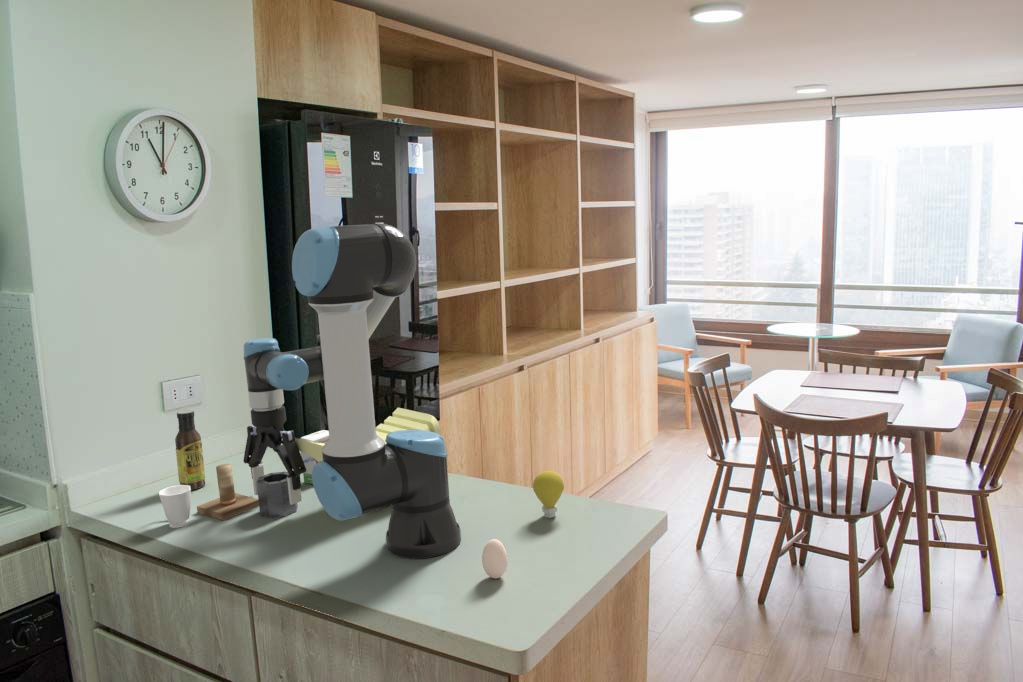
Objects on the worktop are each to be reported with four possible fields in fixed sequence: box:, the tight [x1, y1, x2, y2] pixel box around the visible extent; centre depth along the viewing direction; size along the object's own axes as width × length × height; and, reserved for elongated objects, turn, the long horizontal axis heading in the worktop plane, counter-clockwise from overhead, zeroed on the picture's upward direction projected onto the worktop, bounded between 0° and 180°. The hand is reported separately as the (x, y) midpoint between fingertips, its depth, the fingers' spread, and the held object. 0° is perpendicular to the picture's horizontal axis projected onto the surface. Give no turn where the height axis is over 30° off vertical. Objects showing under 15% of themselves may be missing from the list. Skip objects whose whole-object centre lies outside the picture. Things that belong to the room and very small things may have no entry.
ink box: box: [300, 429, 329, 485], centre depth 204 cm, size 8×5×12 cm, turn 147°
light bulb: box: [532, 470, 565, 519], centre depth 172 cm, size 7×7×10 cm
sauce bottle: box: [174, 409, 206, 491], centre depth 203 cm, size 6×6×20 cm
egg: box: [481, 538, 509, 579], centre depth 145 cm, size 5×5×7 cm
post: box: [196, 463, 259, 521], centre depth 187 cm, size 10×10×10 cm
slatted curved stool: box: [295, 407, 442, 462], centre depth 187 cm, size 30×16×18 cm, turn 136°
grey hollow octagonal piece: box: [256, 471, 298, 519], centre depth 184 cm, size 8×8×8 cm
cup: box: [158, 484, 192, 529], centre depth 180 cm, size 7×10×8 cm
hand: (277, 497), depth 184 cm, fingers open, 12 cm apart
